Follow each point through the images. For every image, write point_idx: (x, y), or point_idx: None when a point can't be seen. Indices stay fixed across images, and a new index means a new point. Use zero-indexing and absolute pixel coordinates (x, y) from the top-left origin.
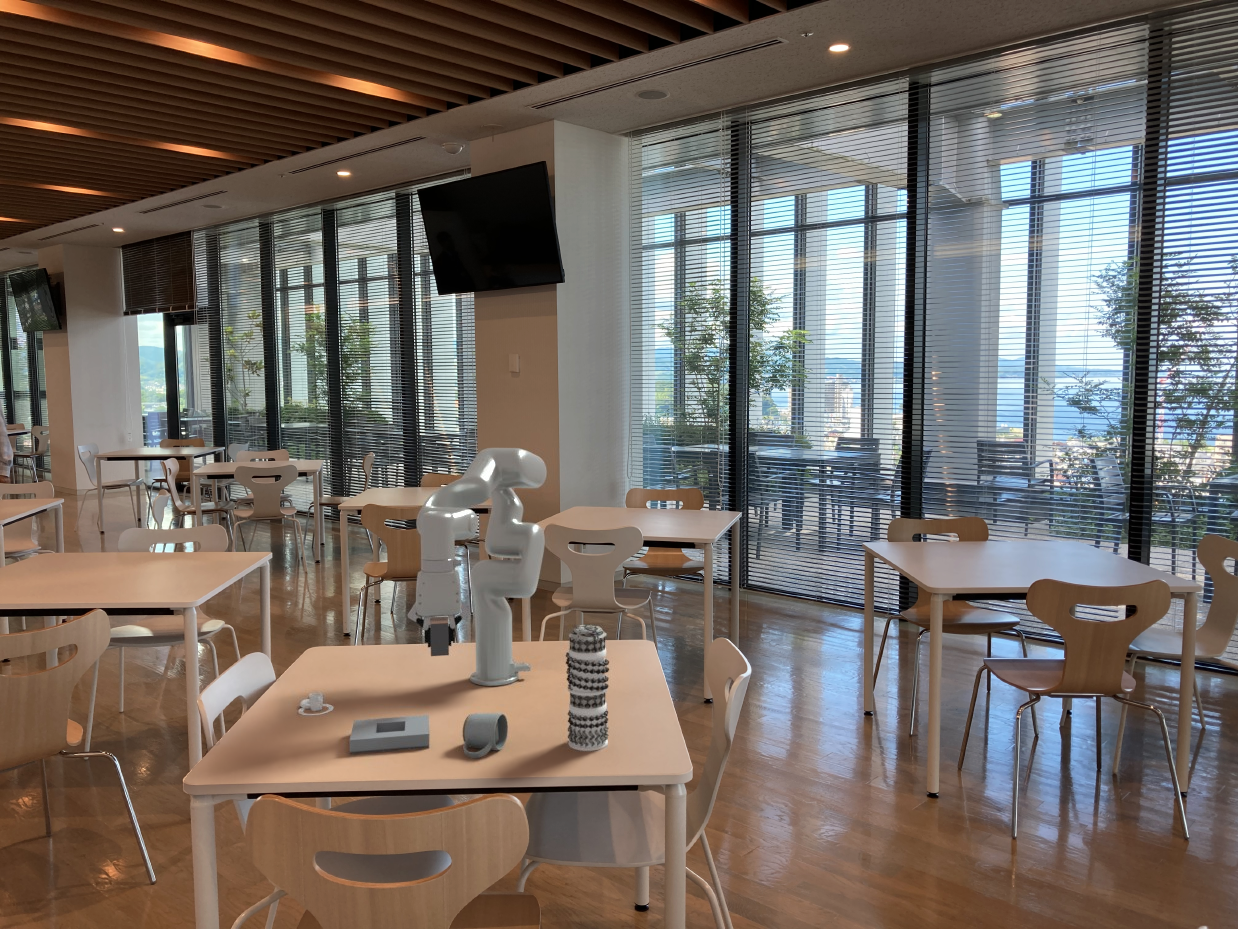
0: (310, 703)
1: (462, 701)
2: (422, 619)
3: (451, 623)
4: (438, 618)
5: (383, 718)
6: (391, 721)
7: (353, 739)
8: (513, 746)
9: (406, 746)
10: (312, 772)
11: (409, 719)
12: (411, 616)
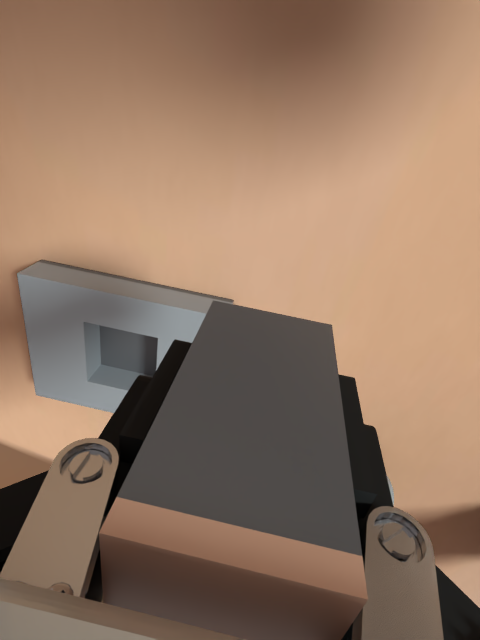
0: None
1: (420, 60)
2: (7, 555)
3: (344, 637)
4: (209, 612)
5: (97, 293)
6: (120, 325)
7: (43, 395)
8: (386, 473)
9: None
10: (5, 417)
11: (169, 331)
12: None
